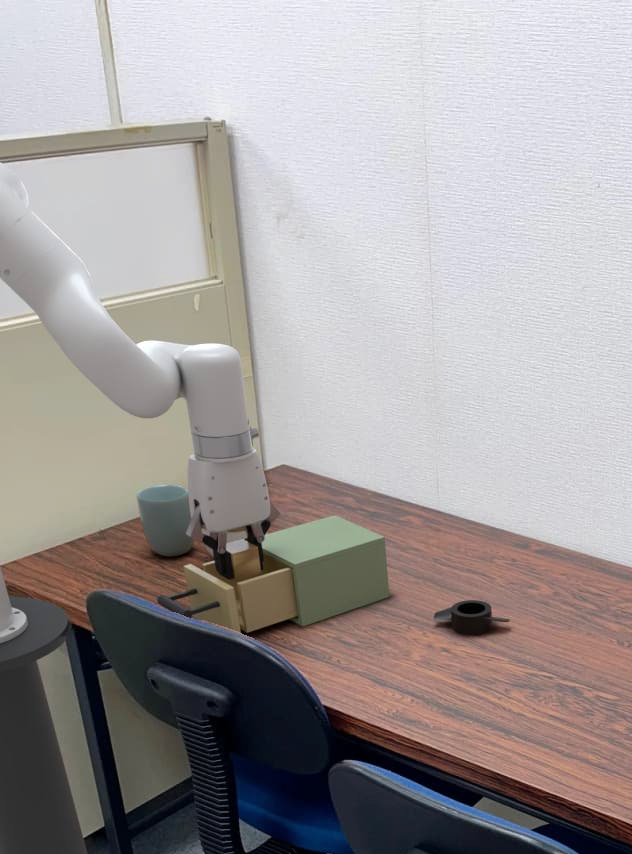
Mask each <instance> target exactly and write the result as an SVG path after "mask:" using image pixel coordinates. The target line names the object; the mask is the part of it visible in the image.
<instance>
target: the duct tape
mask: <svg viewBox="0 0 632 854" xmlns="http://www.w3.org/2000/svg"><path fill="white" fill-rule="evenodd" d="M492 610H493V609H492V606H491V604H490V603H488V602H486V601H483V600H478V599H477V600H476V599H467V600H462V601H461V600H460V601H458V602H456V603H454V604H452V606H451V607H448V608H445V609H441V610H439V611H436V612H434V615H433V621H436V620H437V621H450V622H451V629H452V631H453V632H455V633H456V634H459V635H462V636H480V635H484V634H486V633H489V632H490V631H492V630H493V629H492V628H493V622H499V623H509V622H510V621H511V619H510V618H502V617H496V616H493V613H492Z"/></svg>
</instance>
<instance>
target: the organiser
mask: <svg viewBox="0 0 632 854" xmlns="http://www.w3.org/2000/svg"><path fill="white" fill-rule="evenodd" d="M264 537H265V540H264V542H262V550H263V553H264V554H266V555H268V556H270V557H272V558H274V559H276V560H278V561H280V562H282V563H284V564H286V565H288V566H290V567H292V569H293V577H294V585H295V593H296V601H297V609H298V616H296V617H293V618H290V619H288V620H289V621H292V622H293V623H295V624H297V625H299V626H300V627H303V628H304V627H305V626H308V625H311V624H315V623H317V622H321V621H323V620H327V619H329V618H332V617H336V616H338V615H340V614H343V613H346V612H347V613H348V612H349V611H353V610H355V609H358V608H361V607H364V606H367V605H370V604H372V603H373V604H374V603H375V602H379V601H381V600H384V599H387V598H390V586H389V575H388V562H387V561H388V560H387V549H386V537H385V536H384V535H381V534H379V533H376V532H375V531H372V530H370V529H368V528H365V527H363V526H361V525H358V524H357V523H354V522H352V521H349V520H347V519H344V518H343V517H340V516H338V515H336V514H334V515H331V516H327V517H322V518H319V519H316V520H312V521H309V522H305V523H302V524H298V525H295V526H291V527H288V528H284V529H280V530H277V531H273V532H269V533H268V534H266V535H265V536H264Z"/></svg>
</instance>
